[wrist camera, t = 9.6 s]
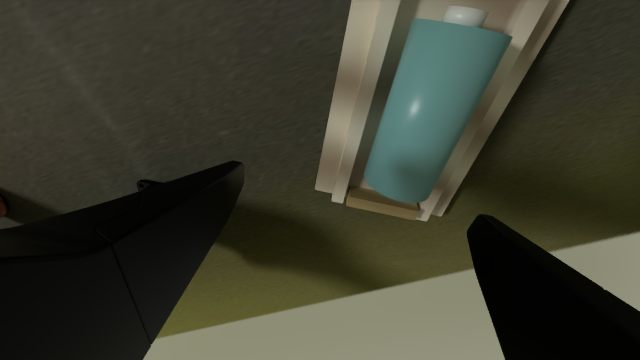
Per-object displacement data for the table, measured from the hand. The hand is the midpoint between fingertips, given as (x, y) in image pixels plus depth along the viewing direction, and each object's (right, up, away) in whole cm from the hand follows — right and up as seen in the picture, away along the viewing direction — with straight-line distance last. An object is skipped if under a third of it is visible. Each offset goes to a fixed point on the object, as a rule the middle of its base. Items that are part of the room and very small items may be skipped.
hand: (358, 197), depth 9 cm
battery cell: (+5, +6, +9) cm, 12 cm away
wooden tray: (+5, +6, +9) cm, 12 cm away
